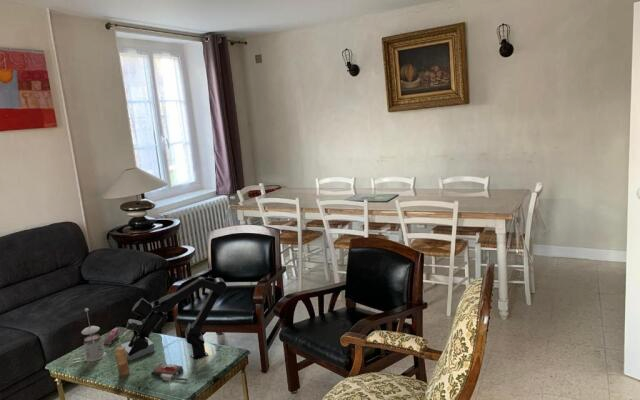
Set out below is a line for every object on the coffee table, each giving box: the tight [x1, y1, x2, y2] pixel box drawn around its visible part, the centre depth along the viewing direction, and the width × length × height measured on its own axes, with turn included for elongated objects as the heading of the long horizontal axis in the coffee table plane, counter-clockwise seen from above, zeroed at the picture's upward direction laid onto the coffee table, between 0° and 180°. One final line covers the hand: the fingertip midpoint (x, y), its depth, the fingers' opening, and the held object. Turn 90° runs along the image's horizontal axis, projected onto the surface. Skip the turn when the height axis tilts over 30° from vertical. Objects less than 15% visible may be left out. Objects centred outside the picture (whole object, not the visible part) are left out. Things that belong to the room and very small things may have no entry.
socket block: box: [120, 337, 155, 361], centre depth 234 cm, size 12×12×4 cm
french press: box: [80, 307, 107, 362], centre depth 232 cm, size 10×12×25 cm
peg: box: [114, 346, 131, 378], centre depth 212 cm, size 4×4×12 cm
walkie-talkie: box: [151, 363, 188, 382], centre depth 209 cm, size 9×4×20 cm
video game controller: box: [103, 327, 121, 345], centre depth 250 cm, size 10×5×7 cm, turn 179°
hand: (129, 350), depth 213 cm, fingers open, 9 cm apart
